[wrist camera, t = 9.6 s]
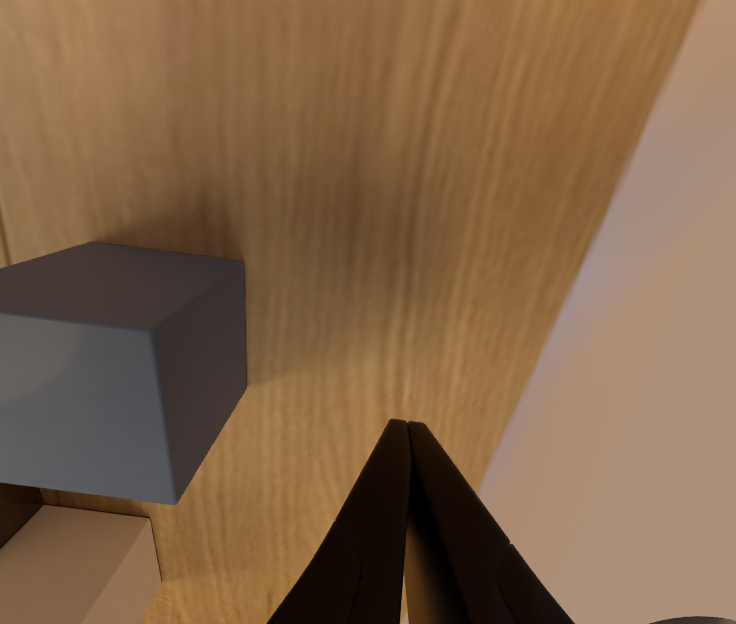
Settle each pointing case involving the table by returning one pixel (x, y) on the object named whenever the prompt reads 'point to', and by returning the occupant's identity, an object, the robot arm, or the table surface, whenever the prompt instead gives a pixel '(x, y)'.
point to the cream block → (78, 569)
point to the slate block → (117, 368)
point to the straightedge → (16, 508)
